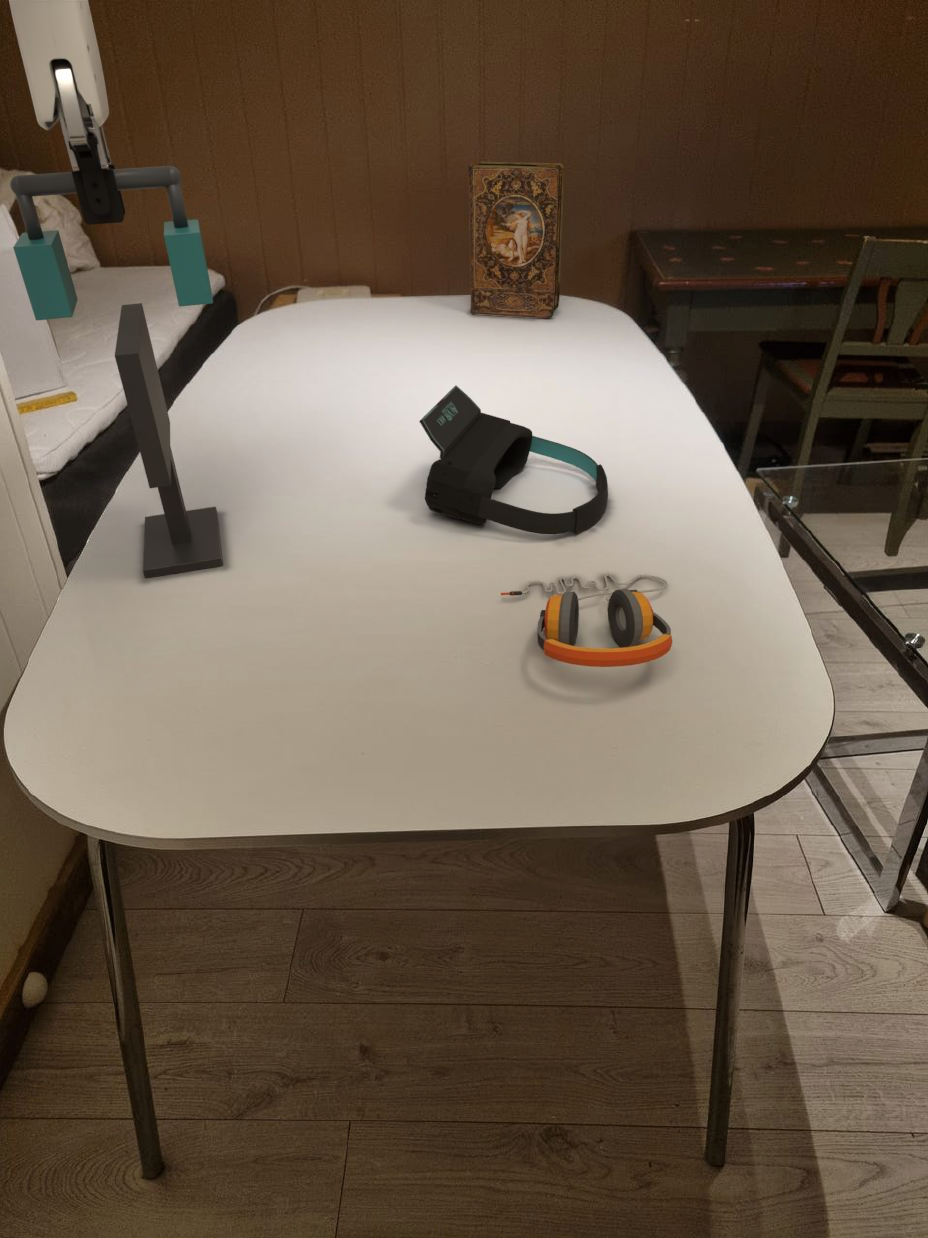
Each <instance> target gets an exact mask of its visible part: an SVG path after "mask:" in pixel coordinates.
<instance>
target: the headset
mask: <svg viewBox="0 0 928 1238" xmlns="http://www.w3.org/2000/svg"><path fill="white" fill-rule="evenodd" d="M113 171H114V175H115V180H116V184H117V188H118V191H132V190H133V191H134V190H145V189H146V190H147V189H161V188H162V189H163V188H165V189H166V193H167V197H168V198H167V200H168V204H169V207H170V213H171V218H172V221H164V222H163V238H164V243H165V247H166V252H167V257H168V261H169V267H170V272H171V275H172V276H171V277H172V281H173V285H174V289H175V293H176V294H175V295H176V299H177V304H178V307H190V306H199V305H211V304H214V300H213V292H212V286H211V280H210V275H209V269H208V265H207V259H206V253H205V249H204V243H203V238H202V233H201V228H200V222H199V219H188V217H187V211H186V207H185V201H184V197H183V192H182V191H183V190H182V187H181V181H182V174H181V171H180V170H179V169H178V168H177V167H175V166H174V165H159V166H157V165H156V166H145V167H129V168H128V167H127V168H115V169H113ZM9 186H10V187H9V188H10V189H11V191H12V192H13V194H15V197H16V201H17V204H18V207H19V208H18V209H19V211H20V215H21V217H22V221H23V224H24V228H25V232H22V233H21V234H20V236H19V238H18V239H17V241H16V242H15V244H14V245H13V248H12V249H13V251H14V255H15V258H16V261H17V265H18V267H19V271H20V274H21V278H22V280H23V283H24V286H25V287H24V288H25V290H26V293H27V297H28V299H29V303H30V305H31V309H32V312H33V316H34V319H35V321H45V320H57V319H66V318H73V316H74V313H75V310H76V307H77V303H78V295H77V292H76V288H75V283H74V281H73V278H72V274H71V270H70V266H69V263H68V260H67V255H66V252H65V249H64V245H63V243H62V238H61V234H60V232H59V229H56V230H55V229H54V230H43V229H42V226H41V223H40V219H39V216H38V215H39V214H38V212H37V208H36V205H35V202H34V199H33V197H46V196H60V195H61V196H62V195H73V194H75V195H77V191H76V187H75V184H74V180H73V176H72V171H66V172H65V171H63V172H51V173H49V172H48V173H36V174H35V173H34V174H33V173H32V174H18V175H15V176H13V177H12V178H11V179H10V182H9Z"/></svg>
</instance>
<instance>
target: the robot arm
mask: <svg viewBox="0 0 928 1238" xmlns="http://www.w3.org/2000/svg"><path fill="white" fill-rule="evenodd" d="M8 3H9V9H10V13H11V18H12V22H13V25H14V26H13V27H14V30H15V34H16V35H15V36H16V39H17V44H18V48H19V51H20V55H21V59H22V63H23V67H24V71H25V75H26V80H27V83H28V88H29V92H30V96H31V102H32V105H33V109H34V114H35V117H36V121H37V124H38V125H39V127H40V128H42V129H44V130H46V131H50V130H52V129H53V128H54V127H55V126H56V124H58V122H59V124H60V128H61V132H62V135H63V139H64V143H65V146H66V150H67V154H68V158H69V162H70V166H71V168H72V171H71V172H72V176H73V180H74V184H75V187H76V191H77V193H76V195H77V199H78V202H79V207H80V211H81V214H82V218H83V221H84V223H85V224H87V225H91V226H92V225H93V226H94V225H105V224H117V223H122V222H124V220H125V215H126V207H125V204H124V199H123V195H122V190H120V191H118V188H117V184H116V180H115V175H114V171H113V169H116V166H115V164H113V163H112V157H111V153H110V149H109V144H108V141H107V137H106V132H105V128H104V123H105V122H106V121H107V119H108V118H109V116H110V107H109V101H108V100H109V99H108V95H107V94H108V93H107V88H106V82H105V81H106V80H105V76H104V70H103V64H102V60H101V59H102V58H101V55H100V49H99V45H98V40H97V35H96V31H95V26H94V22H93V17H92V12H91V7H90V4H89V0H8Z"/></svg>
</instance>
